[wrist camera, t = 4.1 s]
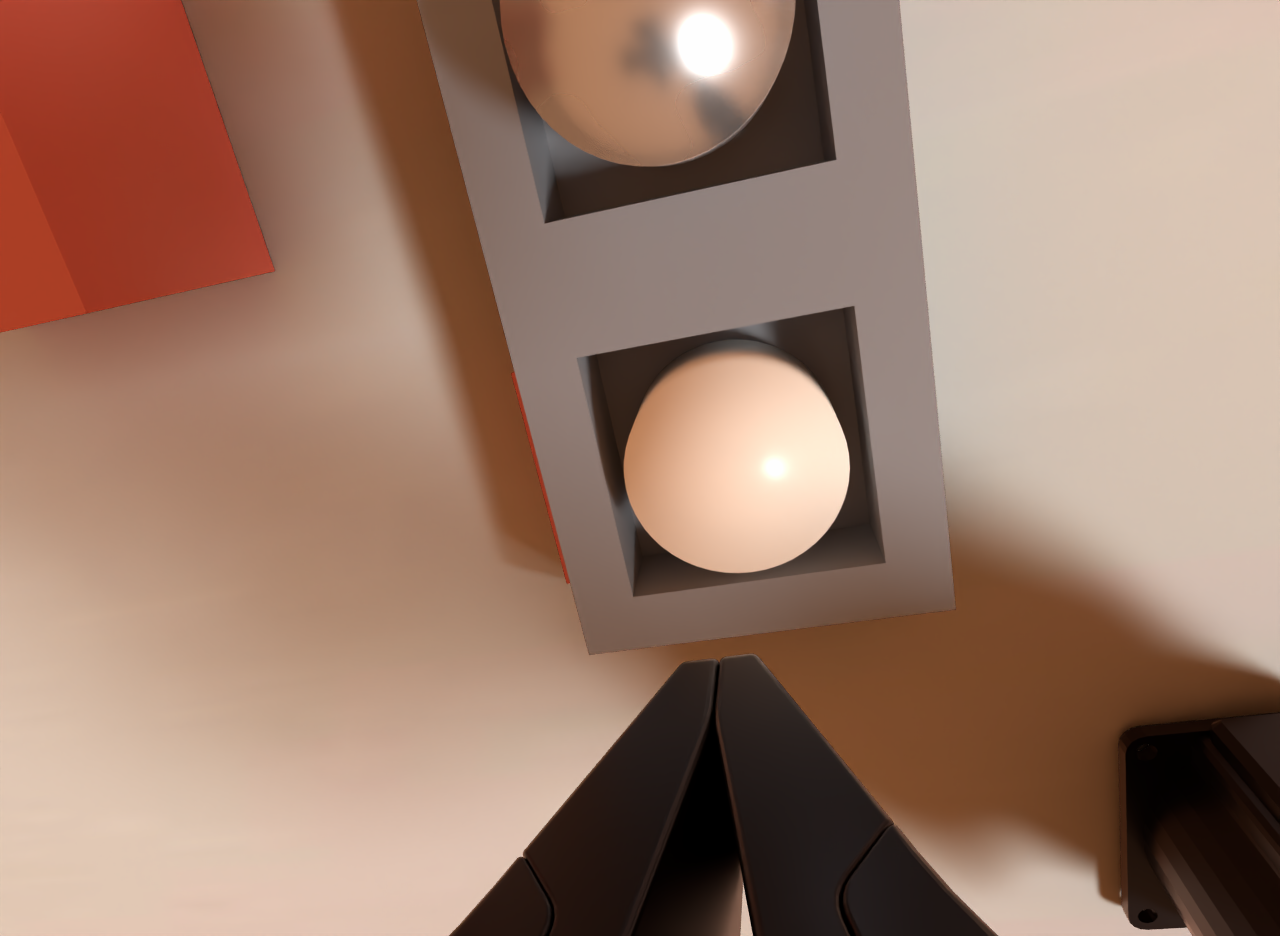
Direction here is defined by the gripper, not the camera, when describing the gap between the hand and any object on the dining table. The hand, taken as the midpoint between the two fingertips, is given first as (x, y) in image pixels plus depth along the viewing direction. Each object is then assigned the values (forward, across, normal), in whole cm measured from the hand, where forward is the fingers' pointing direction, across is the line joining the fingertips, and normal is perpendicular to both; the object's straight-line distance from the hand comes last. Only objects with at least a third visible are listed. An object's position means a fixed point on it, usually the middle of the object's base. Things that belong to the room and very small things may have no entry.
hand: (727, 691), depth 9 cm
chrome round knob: (+8, 0, -8) cm, 11 cm away
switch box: (+11, 0, -4) cm, 12 cm away
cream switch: (+10, 0, 0) cm, 10 cm away
